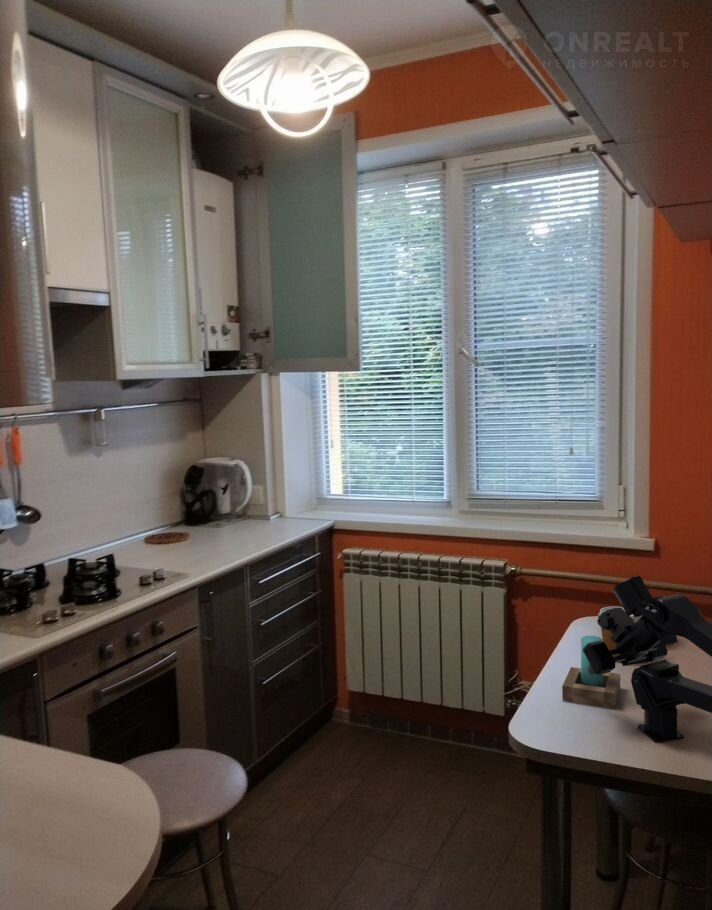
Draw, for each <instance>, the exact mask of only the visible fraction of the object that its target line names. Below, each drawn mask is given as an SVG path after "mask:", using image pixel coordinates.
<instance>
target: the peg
mask: <svg viewBox="0 0 712 910" xmlns="http://www.w3.org/2000/svg"><path fill="white" fill-rule="evenodd" d="M596 641H603V639H602V638H601V637H600V636H597V635H583V636H581V637H580V668H581V684H582V685H589V686H595V687H602V688H603V674H599V675H598V674H590V673H589V671H588V668H589V665H590V663H589V661H588V659H587V657H586V655H585V654H584V652H583V647H584V646H585V645H587V644H588V643H592V642H596Z"/></svg>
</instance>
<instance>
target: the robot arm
mask: <svg viewBox="0 0 712 910" xmlns="http://www.w3.org/2000/svg"><path fill="white" fill-rule="evenodd" d="M612 591H613V594H615V596H616V598H617V600H618V601H619V603H620V605H621V607H623V608H624V610H625V611H624V610H623V609H622V608H613V609H608V610H606V611H605V612H602V614H601V615H599V616H598V615H597V616H598V619H597V620H596V622H597V625H598V626H599V627H600V629H601V628H602V629H603V630H609V631H610V632H611V633H612V634H613V635H612V636H611V639H612V641H613V642H615V643H616V645H615V646H616V649H614V650H609V649H608V648H607V646H606V644H605V642H603V641H596V642H592V643H588V644H587V645H585V646H584V647H583V652H584V654H585V655H586V657H587V659H588V661H589V663H590V665H589V668H588V671H589V673H590V674H598V675H599V674H605V673H608V672H610V673H612V672H611V671H613V670H614V669H616V663H618V662H617V661H621V660H622V661H621V662H620V663H621V665H622V666H623V667H626V666H627V667H628V666H634V665H639V664H641V665H640V666H639V667H635V668H634V670H633V671H632V674H631V678H630V680H631V681H630V682H631V687H632V691H633V694H634V698H635V703H636V705H638V706H640V707H641V709H642V710H644V711H643V713H644V715H643V717H644V718H643V719H644V723H641V724H637V728H638V729H639V731H641V732H642V733H644V734H645V735H646V736H647V737H649V738H650V740H652V741H653V742H655V743H660V742H667V741H668V742H669V741H674V740H682V739H684V738H685V735H684V734H683V733H682V732H681V731H680V730H678V708H677V706H679V705H685V704H686V705H688V706H692V707H694V708H697V709H699V710H701V711H705V712H708V713H711V714H712V685H709V684H707V683H703V682H700V681H697V680H694V679H691V678H688V677H685V676H683V675H682V673H681V671H680V664H678V663H673V662H670V661H668V660H667V659H665V657H667V655H668V647H667V646H670V645H674V644H677V643H678V637H682V638H684V639H686V640H687V641H689V642H691V643H692V644H693V645H695V646H696V647H697V648H699V649H700V650H702V651H703V653H706V654H707V655H708V656H709V657H711V658H712V623H710V622H709V621H707V619H705V618H704V616H702V614H701V610H700V608H699V607H698V606H697V605H696V604H695V603H693V602H692V601H691V600H690V599H689V598H688V597H687V596H685V595H683V594H681V593H680V594H674V595H669V596H665V595H663V596H657V597H653V596H652V594H651V593H650V591H649V589H648V587H647V586H646V584H645V582H644V580H643V578H642V577H641V575H635V576H631V577H630V578H629V579H626V580H624V581H622V582H621V583H619V584H616V585H615V586H614V587H613V589H612ZM632 614H633V615H634V617H639V616H642V615H643V616H642V617H641V618H640V619H639V620H637V621H636V622H634V620H633V619H632V618H631V617H630V615H632ZM619 655H620V656H619ZM615 656H616V657H615ZM650 662H651V663H650ZM646 663H647V664H646ZM642 664H643V665H642Z"/></svg>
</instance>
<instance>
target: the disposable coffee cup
mask: <svg viewBox="0 0 712 910" xmlns="http://www.w3.org/2000/svg"><path fill="white" fill-rule="evenodd" d="M613 608H622V609H623V610H624V608H623V606H616V605H615V606H613V605H612V606H606V607H602V608H600V610H599V613H598V614H597V616H599V615H601V614H602V612H605V611H606V610H608V609H613ZM624 611H625V610H624ZM630 617H631V618H632V619H633V620H634V622H636V621H637V620H638V617H634V615H633V614H632V615H630ZM600 629H601V636H602V640H603V642H605V644H606V646H607V648H608V649H609V650H614V649H616V646H615V645H616V643H615V642H613V641H612V639H611V636H612V635H613V634H612V633H611V632H610V631H609V630H603V629H602V628H601V627H600ZM619 656H620V655H619ZM615 657H616V656H615ZM621 661H622V660H621ZM621 661H617V662H616V663H621Z"/></svg>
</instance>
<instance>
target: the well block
mask: <svg viewBox="0 0 712 910" xmlns="http://www.w3.org/2000/svg"><path fill="white" fill-rule="evenodd" d="M561 688H562V689H561V691H562V694H561V695H562V702H567V703H574V704H579V705H584V706H585V705H587V706H592V707H593V706H594V707H597V708H598V707H599V708H605V709H611V710H615V708H616V705H617V701H618V697H619V695H620V692H621V673H615V672H608V673H605V674H603V688H602V687H595V686H589V685H582V684H581V667H580V668H579V667H573V666H571V667H570V668H569V671H568V673H567V675H566V677H565V678H564V681H563V684H562V686H561Z"/></svg>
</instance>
